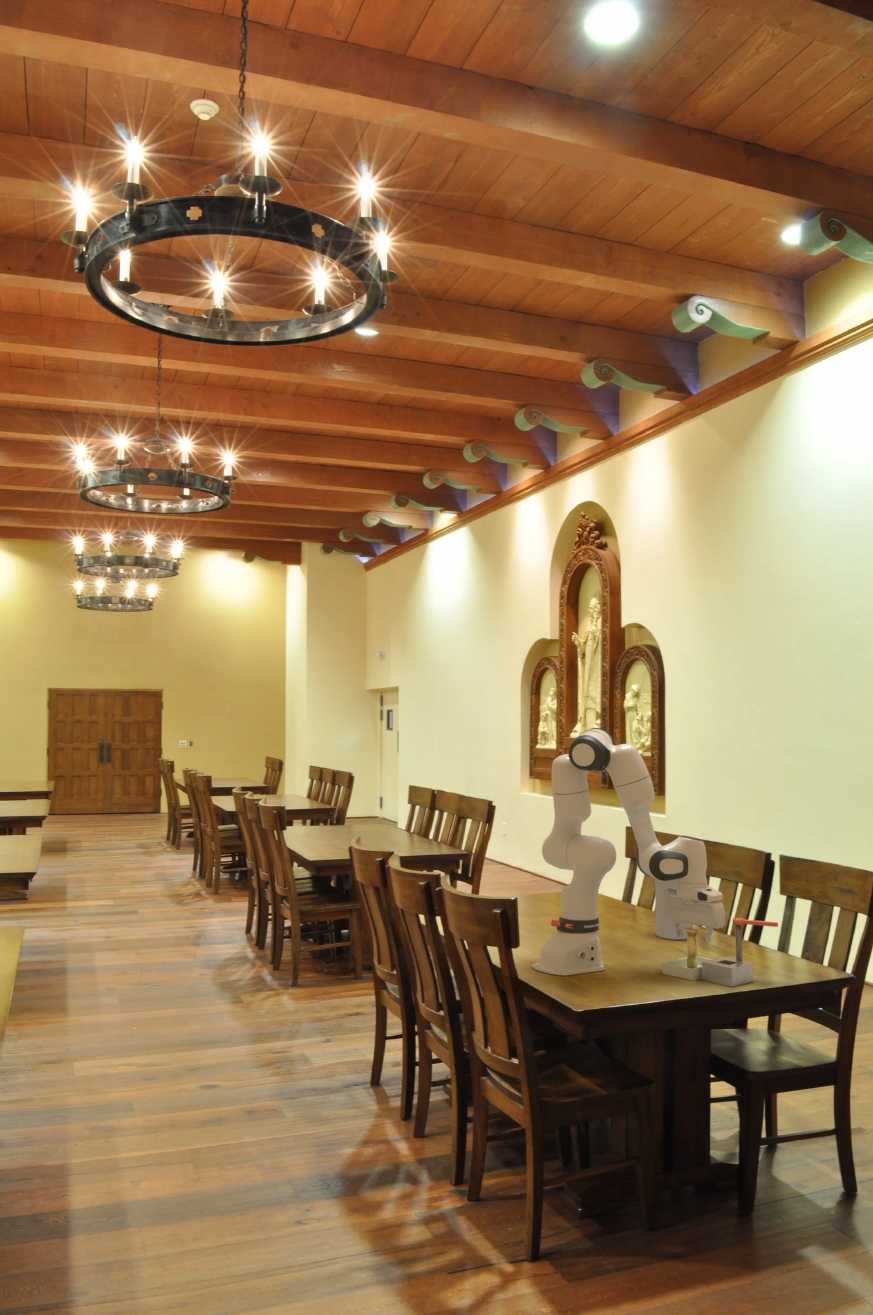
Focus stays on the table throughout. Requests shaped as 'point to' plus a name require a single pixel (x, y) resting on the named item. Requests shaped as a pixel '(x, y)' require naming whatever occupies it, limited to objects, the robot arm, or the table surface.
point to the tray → (683, 968)
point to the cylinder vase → (662, 925)
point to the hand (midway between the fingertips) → (693, 939)
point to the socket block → (729, 967)
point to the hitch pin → (691, 946)
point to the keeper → (753, 922)
